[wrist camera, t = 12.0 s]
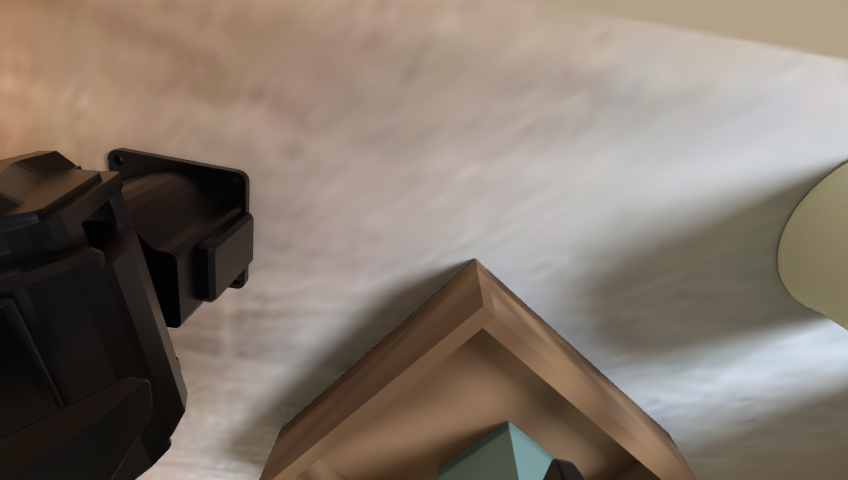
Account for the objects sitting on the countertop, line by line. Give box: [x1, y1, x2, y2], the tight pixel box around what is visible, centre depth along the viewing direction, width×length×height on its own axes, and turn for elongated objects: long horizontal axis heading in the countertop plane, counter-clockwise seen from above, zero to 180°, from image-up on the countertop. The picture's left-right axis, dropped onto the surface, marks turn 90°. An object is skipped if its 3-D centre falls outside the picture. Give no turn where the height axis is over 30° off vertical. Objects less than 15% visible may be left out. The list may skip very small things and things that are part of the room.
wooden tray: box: [259, 259, 696, 480], centre depth 25 cm, size 18×18×4 cm
